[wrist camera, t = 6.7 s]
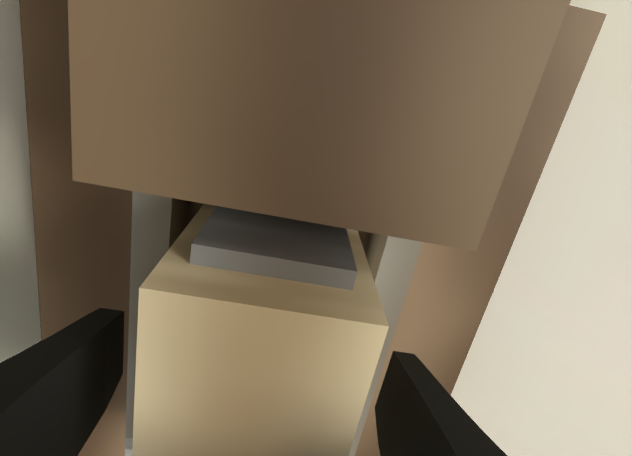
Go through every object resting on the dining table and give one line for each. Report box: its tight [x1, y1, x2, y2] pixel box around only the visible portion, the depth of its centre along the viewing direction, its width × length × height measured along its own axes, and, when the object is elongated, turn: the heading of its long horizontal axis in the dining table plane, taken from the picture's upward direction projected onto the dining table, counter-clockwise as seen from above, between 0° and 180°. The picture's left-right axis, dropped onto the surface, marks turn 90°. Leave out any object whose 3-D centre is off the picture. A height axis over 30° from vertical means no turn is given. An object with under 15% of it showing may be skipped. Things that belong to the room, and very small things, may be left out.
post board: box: [19, 0, 607, 456], centre depth 13 cm, size 16×28×7 cm, turn 169°
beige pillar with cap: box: [132, 204, 389, 456], centre depth 11 cm, size 4×8×7 cm, turn 169°
